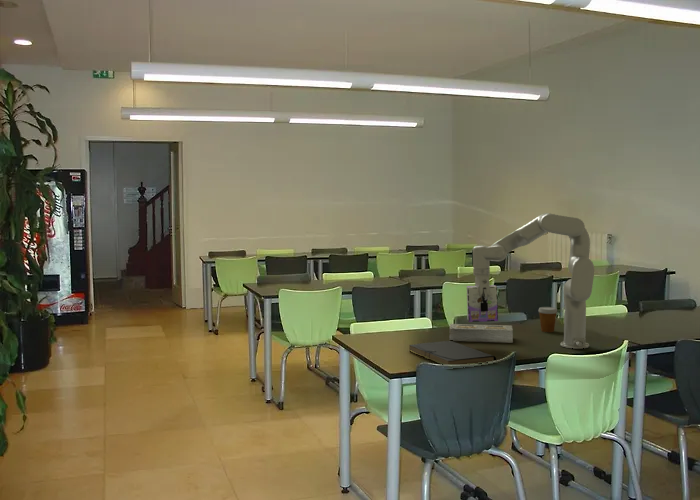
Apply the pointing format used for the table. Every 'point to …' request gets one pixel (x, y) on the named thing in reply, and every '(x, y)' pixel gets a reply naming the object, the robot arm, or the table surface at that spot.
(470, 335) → the label stand
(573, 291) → the robot arm
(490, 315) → the candy box
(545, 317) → the disposable coffee cup
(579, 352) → the table surface
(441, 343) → the file folder
